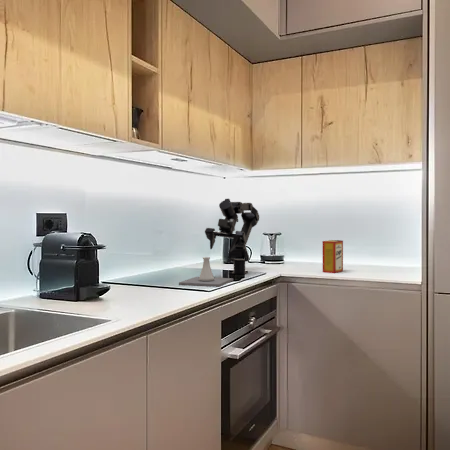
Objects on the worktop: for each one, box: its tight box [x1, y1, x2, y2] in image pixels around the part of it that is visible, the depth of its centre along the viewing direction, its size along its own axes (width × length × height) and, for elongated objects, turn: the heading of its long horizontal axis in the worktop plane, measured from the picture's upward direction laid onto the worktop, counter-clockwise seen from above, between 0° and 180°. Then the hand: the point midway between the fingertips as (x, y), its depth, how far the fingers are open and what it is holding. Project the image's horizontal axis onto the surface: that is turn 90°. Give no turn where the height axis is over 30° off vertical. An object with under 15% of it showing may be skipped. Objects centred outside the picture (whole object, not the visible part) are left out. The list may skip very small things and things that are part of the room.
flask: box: [198, 256, 215, 281], centre depth 202 cm, size 7×7×10 cm
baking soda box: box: [322, 239, 344, 274], centre depth 236 cm, size 10×6×16 cm
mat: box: [178, 276, 234, 288], centre depth 202 cm, size 18×18×1 cm
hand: (220, 250), depth 210 cm, fingers open, 9 cm apart
